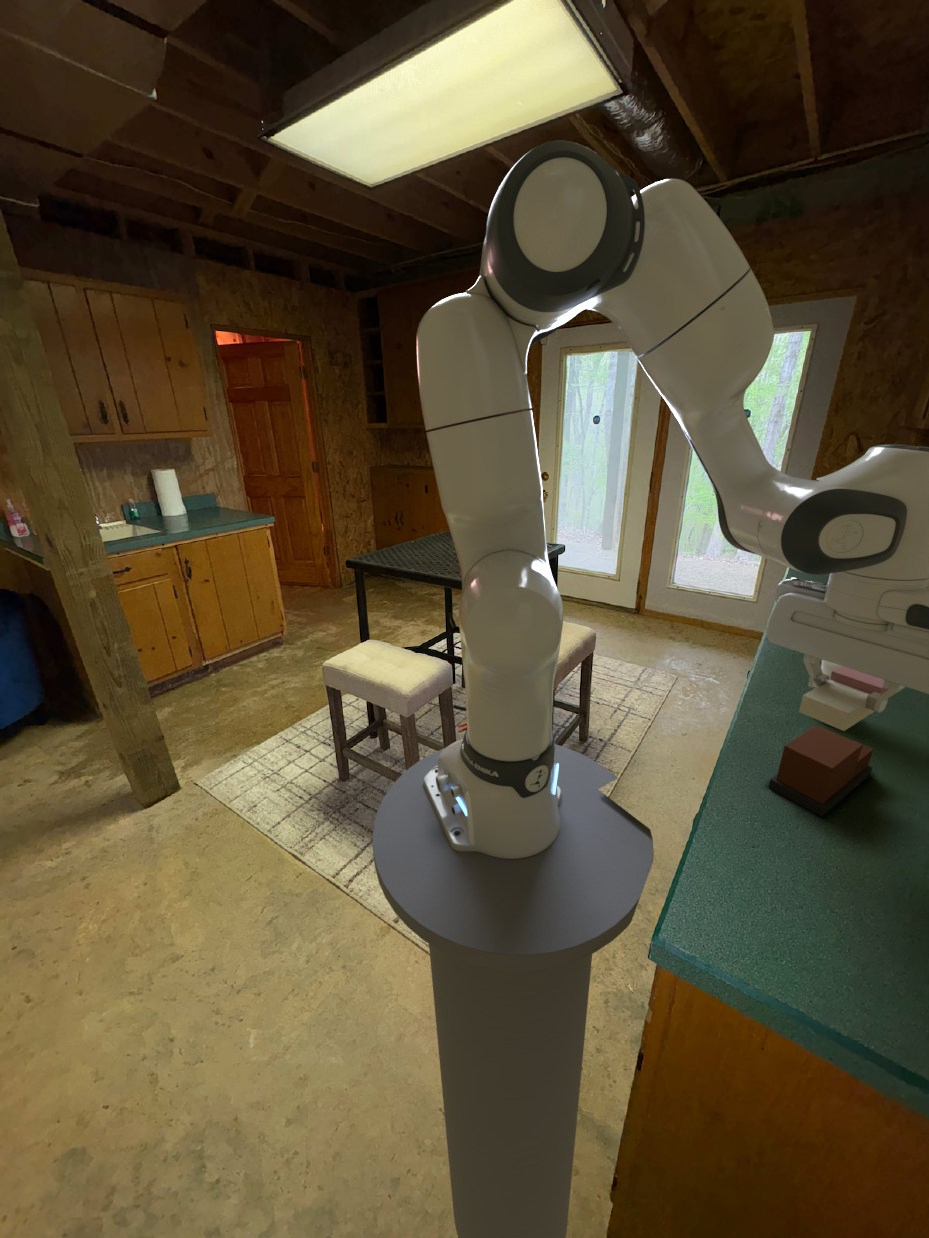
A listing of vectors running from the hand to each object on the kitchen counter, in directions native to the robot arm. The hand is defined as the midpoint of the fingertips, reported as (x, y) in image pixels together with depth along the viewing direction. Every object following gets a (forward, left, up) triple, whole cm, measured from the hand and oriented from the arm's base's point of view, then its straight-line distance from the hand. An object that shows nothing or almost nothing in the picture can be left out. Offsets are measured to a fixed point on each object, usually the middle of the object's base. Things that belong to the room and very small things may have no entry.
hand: (844, 697), depth 60 cm
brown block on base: (-2, +7, -18) cm, 19 cm away
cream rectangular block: (0, 0, -2) cm, 2 cm away
